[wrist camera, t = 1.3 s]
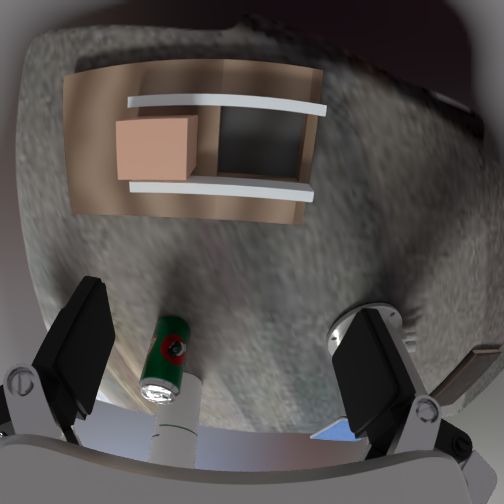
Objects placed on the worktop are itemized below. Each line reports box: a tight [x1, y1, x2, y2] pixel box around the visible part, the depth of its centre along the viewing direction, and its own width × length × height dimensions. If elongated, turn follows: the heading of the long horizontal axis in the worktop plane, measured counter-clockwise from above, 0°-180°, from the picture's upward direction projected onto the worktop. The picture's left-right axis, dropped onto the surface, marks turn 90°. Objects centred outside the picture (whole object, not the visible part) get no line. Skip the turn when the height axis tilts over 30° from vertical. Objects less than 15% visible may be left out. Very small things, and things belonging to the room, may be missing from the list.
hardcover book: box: [428, 349, 502, 407], centre depth 54 cm, size 16×23×2 cm
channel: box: [128, 94, 327, 202], centre depth 24 cm, size 17×9×2 cm, turn 85°
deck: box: [63, 59, 323, 225], centre depth 26 cm, size 26×16×2 cm, turn 85°
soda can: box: [139, 316, 190, 404], centre depth 34 cm, size 5×5×12 cm
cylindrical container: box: [148, 372, 202, 469], centre depth 36 cm, size 7×7×25 cm
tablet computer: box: [310, 417, 362, 441], centre depth 62 cm, size 19×13×1 cm, turn 60°
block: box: [116, 115, 198, 180], centre depth 23 cm, size 6×5×5 cm
